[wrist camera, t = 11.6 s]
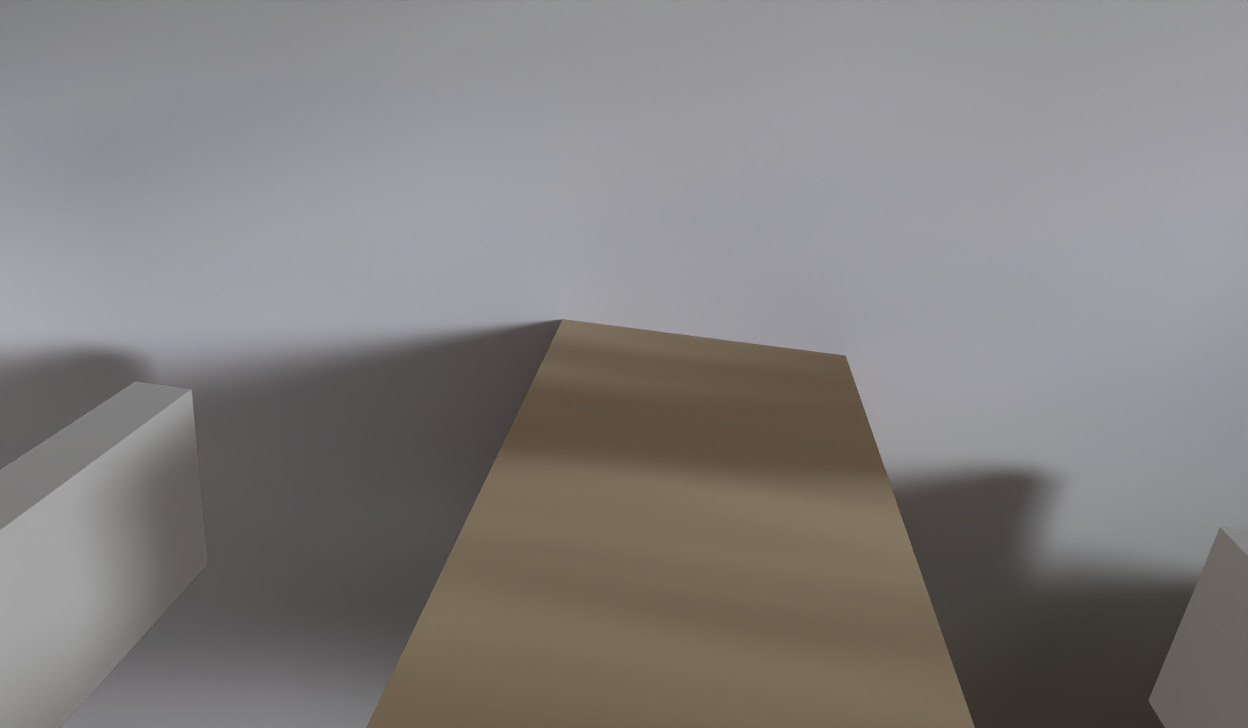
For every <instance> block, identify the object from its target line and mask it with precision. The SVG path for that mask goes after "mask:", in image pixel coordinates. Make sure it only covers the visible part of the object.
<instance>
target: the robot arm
mask: <svg viewBox="0 0 1248 728" xmlns="http://www.w3.org/2000/svg"><path fill="white" fill-rule="evenodd" d="M207 565H208V561H207V550H206V539H205V528H204V518H203V507H202V496H201V485H200V474H199V463H198V453H197V442H196V431H195V420H194V409H193V398H192V389H188V388H181V387H173V386H166V385H158V384H151V383H143V382H136V381H135V382H134V383H132V384H131V385H129V386H127V387H126V388H124V389H123V390H121V391H120V392H118V393H117V394H115V395H114V396H112V397H111V398H109V399H108V400H106V401H104V402H103V403H101V404H100V405H98V406H97V407H95V408H94V409H92V410H91V411H89V412H88V413H86V414H85V415H83V416H82V417H80V418H78V419H77V420H75V421H74V422H72V423H71V424H69V425H68V426H66V427H65V428H63V429H62V430H60V431H59V432H57V433H55V434H54V435H52V436H51V437H49V438H48V439H46V440H45V441H43V442H42V443H40V444H39V445H37V446H36V447H34V448H33V449H31V450H29V451H28V452H26V453H25V454H23V455H22V456H20V457H19V458H17V459H16V460H14V461H13V462H11V463H10V464H8V465H6V466H5V467H3V468H2V469H0V728H61V727H62V726H63V725H64V724H65V723H66V721H67V720H68V719H69V718H70V717H71V716H72V715H73V714H74V713H75V711H76V710H77V709H78V708H79V707H80V706H81V705H82V704H83V703H84V701H85V700H86V699H87V698H88V697H89V696H90V695H91V694H92V693H93V692H94V690H95V689H96V688H97V687H98V686H99V685H100V684H101V683H102V682H103V680H104V679H105V678H106V677H107V676H108V675H109V674H110V673H111V672H112V670H113V669H114V668H115V667H116V666H117V665H118V664H119V663H120V662H121V661H122V659H123V658H124V657H125V656H126V655H127V654H128V653H129V652H130V651H131V649H132V648H133V647H134V646H135V645H136V644H137V643H138V642H139V641H140V640H141V638H142V637H143V636H144V635H145V634H146V633H147V632H148V631H149V630H150V628H151V627H152V626H153V625H154V624H155V623H156V622H157V621H158V620H159V618H160V617H161V616H162V615H163V614H164V613H165V612H166V611H167V610H168V609H169V607H170V606H171V605H172V604H173V603H174V602H175V601H176V600H177V599H178V597H179V596H180V595H181V594H182V593H183V592H184V591H185V590H186V589H187V587H188V586H189V585H190V584H191V583H192V582H193V581H194V580H195V579H196V578H197V576H198V575H199V574H200V573H201V572H202V571H203V570H204V569H205V568H206V566H207ZM1148 701H1149V703H1150V704H1151V706H1152V708H1153V709H1154V711H1155V712H1156V714H1157V716H1158V717H1159V719H1160V721H1161V722H1162V724H1163V725H1164V727H1165V728H1248V531H1246V530H1239V529H1231V528H1224V527H1220V529H1219V531H1218V534H1217V536H1216V538H1215V541H1214V543H1213V546H1212V548H1211V550H1210V553H1209V555H1208V558H1207V560H1206V562H1205V565H1204V567H1203V570H1202V572H1201V575H1200V577H1199V579H1198V582H1197V584H1196V587H1195V589H1194V591H1193V594H1192V596H1191V599H1190V601H1189V604H1188V606H1187V608H1186V611H1185V613H1184V616H1183V618H1182V620H1181V623H1180V625H1179V628H1178V630H1177V633H1176V635H1175V637H1174V640H1173V642H1172V645H1171V647H1170V649H1169V652H1168V654H1167V657H1166V659H1165V662H1164V664H1163V666H1162V669H1161V671H1160V674H1159V676H1158V678H1157V681H1156V683H1155V686H1154V688H1153V690H1152V693H1151V695H1150V698H1149V700H1148Z"/></svg>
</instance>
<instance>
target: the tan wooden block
mask: <svg viewBox="0 0 1248 728" xmlns="http://www.w3.org/2000/svg"><path fill="white" fill-rule="evenodd" d="M367 728H975V727H974V724H973V721H972V718H971V715H970V712H969V710H968V707H967V704H966V701H965V698H964V695H963V692H962V689H961V687H960V684H959V681H958V678H957V675H956V672H955V669H954V666H953V664H952V661H951V658H950V655H949V652H948V649H947V646H946V643H945V641H944V638H943V635H942V632H941V629H940V626H939V623H938V620H937V618H936V615H935V612H934V609H933V606H932V603H931V600H930V597H929V595H928V592H927V589H926V586H925V583H924V580H923V577H922V574H921V571H920V569H919V566H918V563H917V560H916V557H915V554H914V551H913V548H912V546H911V543H910V540H909V537H908V534H907V531H906V528H905V525H904V523H903V520H902V517H901V514H900V511H899V508H898V505H897V502H896V500H895V497H894V494H893V491H892V488H891V485H890V482H889V479H888V477H887V474H886V471H885V468H884V465H883V462H882V459H881V456H880V454H879V451H878V448H877V445H876V442H875V439H874V436H873V433H872V431H871V428H870V425H869V422H868V419H867V416H866V413H865V410H864V408H863V405H862V402H861V399H860V396H859V393H858V390H857V387H856V384H855V382H854V379H853V376H852V373H851V370H850V367H849V364H848V361H847V359H846V356H842V355H835V354H827V353H819V352H812V351H804V350H796V349H788V348H781V347H773V346H765V345H757V344H750V343H742V342H734V341H726V340H719V339H711V338H703V337H695V336H688V335H680V334H672V333H664V332H657V331H649V330H641V329H633V328H626V327H618V326H610V325H602V324H595V323H587V322H579V321H571V320H564V319H562V321H561V324H560V326H559V328H558V330H557V332H556V334H555V336H554V338H553V340H552V342H551V344H550V346H549V349H548V351H547V353H546V355H545V357H544V359H543V361H542V363H541V365H540V367H539V369H538V371H537V374H536V376H535V378H534V380H533V382H532V384H531V386H530V388H529V390H528V392H527V394H526V396H525V399H524V401H523V403H522V405H521V407H520V409H519V411H518V413H517V415H516V417H515V419H514V421H513V424H512V426H511V428H510V430H509V432H508V434H507V436H506V438H505V440H504V442H503V444H502V446H501V449H500V451H499V453H498V455H497V457H496V459H495V461H494V463H493V465H492V467H491V469H490V471H489V474H488V476H487V478H486V480H485V482H484V484H483V486H482V488H481V490H480V492H479V494H478V496H477V499H476V501H475V503H474V505H473V507H472V509H471V511H470V513H469V515H468V517H467V519H466V521H465V524H464V526H463V528H462V530H461V532H460V534H459V536H458V538H457V540H456V542H455V544H454V546H453V549H452V551H451V553H450V555H449V557H448V559H447V561H446V563H445V565H444V567H443V569H442V571H441V574H440V576H439V578H438V580H437V582H436V584H435V586H434V588H433V590H432V592H431V594H430V596H429V598H428V601H427V603H426V605H425V607H424V609H423V611H422V613H421V615H420V617H419V619H418V621H417V623H416V626H415V628H414V630H413V632H412V634H411V636H410V638H409V640H408V642H407V644H406V646H405V648H404V651H403V653H402V655H401V657H400V659H399V661H398V663H397V665H396V667H395V669H394V671H393V673H392V676H391V678H390V680H389V682H388V684H387V686H386V688H385V690H384V692H383V694H382V696H381V698H380V701H379V703H378V705H377V707H376V709H375V711H374V713H373V715H372V717H371V719H370V721H369V723H368V726H367Z"/></svg>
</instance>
